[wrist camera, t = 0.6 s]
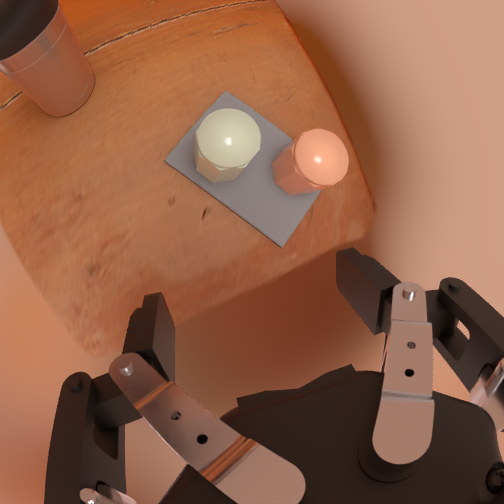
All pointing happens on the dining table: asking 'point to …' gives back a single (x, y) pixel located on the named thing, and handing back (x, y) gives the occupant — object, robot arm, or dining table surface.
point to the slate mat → (249, 178)
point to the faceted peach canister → (310, 162)
